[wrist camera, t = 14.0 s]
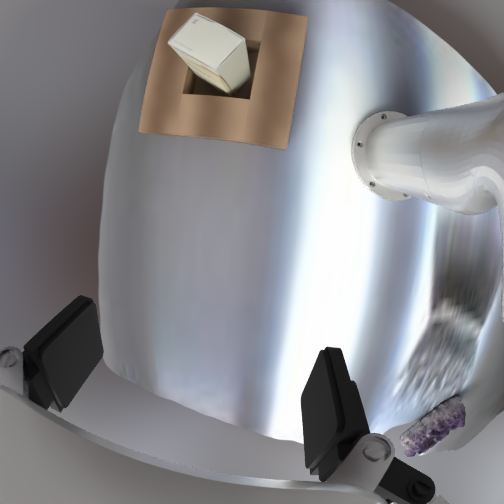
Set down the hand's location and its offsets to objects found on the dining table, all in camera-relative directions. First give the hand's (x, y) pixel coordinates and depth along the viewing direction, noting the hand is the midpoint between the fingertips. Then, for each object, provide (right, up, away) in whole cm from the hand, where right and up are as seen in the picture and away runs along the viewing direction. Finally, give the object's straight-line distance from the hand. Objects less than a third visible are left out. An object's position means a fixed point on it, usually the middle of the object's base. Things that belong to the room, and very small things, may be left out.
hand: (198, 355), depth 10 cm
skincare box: (-1, +27, +20) cm, 33 cm away
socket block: (-1, +27, +21) cm, 34 cm away
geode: (+50, -41, +41) cm, 77 cm away
